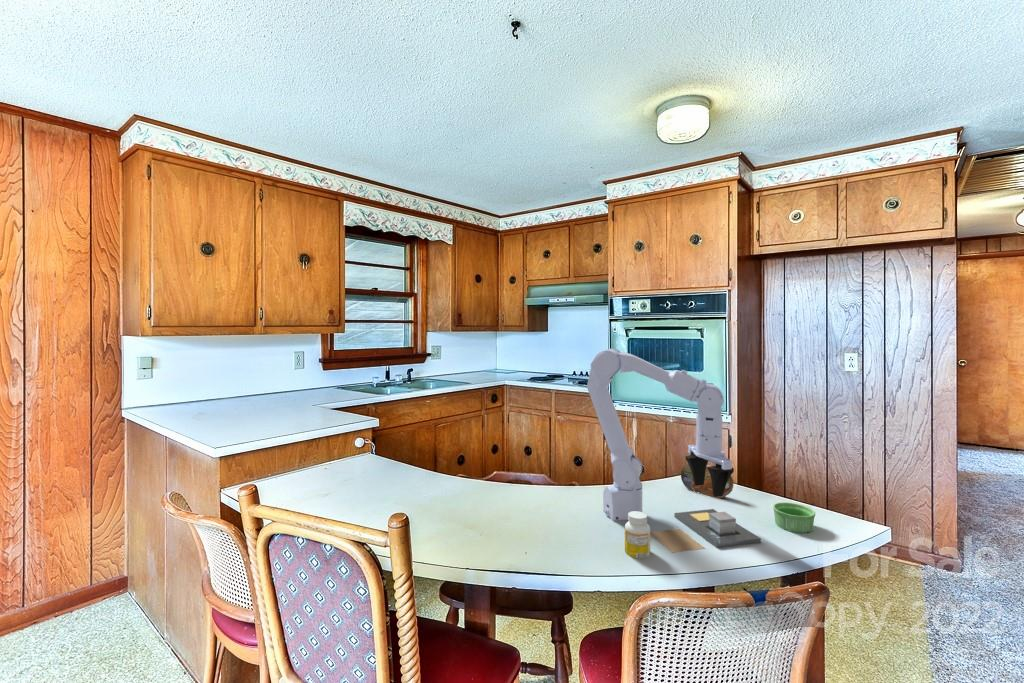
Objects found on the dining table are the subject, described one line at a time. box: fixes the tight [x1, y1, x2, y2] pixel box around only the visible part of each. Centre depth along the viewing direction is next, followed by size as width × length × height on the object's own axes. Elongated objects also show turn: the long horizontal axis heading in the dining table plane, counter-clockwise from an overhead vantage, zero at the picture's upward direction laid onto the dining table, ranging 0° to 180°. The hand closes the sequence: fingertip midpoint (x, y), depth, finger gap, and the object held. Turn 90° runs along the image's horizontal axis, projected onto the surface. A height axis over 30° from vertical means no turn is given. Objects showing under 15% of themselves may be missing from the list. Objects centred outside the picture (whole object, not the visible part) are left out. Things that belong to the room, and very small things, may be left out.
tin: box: [680, 463, 734, 499], centre depth 140 cm, size 15×3×8 cm, turn 42°
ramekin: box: [772, 501, 816, 534], centre depth 118 cm, size 9×9×4 cm
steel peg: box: [709, 511, 737, 537], centre depth 110 cm, size 4×4×6 cm
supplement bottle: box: [624, 511, 651, 559], centre depth 102 cm, size 5×5×10 cm
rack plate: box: [673, 508, 762, 549], centre depth 113 cm, size 11×17×3 cm, turn 12°
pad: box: [650, 528, 706, 553], centre depth 108 cm, size 8×10×2 cm
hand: (708, 490), depth 115 cm, fingers open, 7 cm apart
